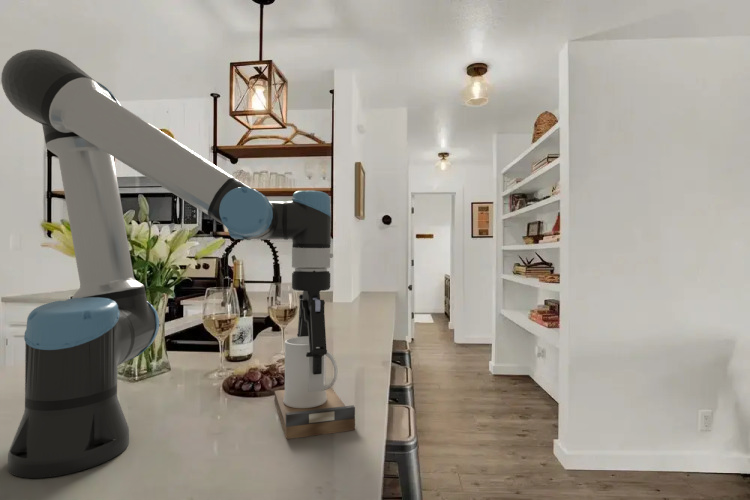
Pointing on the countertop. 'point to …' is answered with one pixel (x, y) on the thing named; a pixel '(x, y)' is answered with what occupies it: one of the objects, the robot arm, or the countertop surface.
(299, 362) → the mug
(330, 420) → the flat wooden box
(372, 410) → the countertop surface
